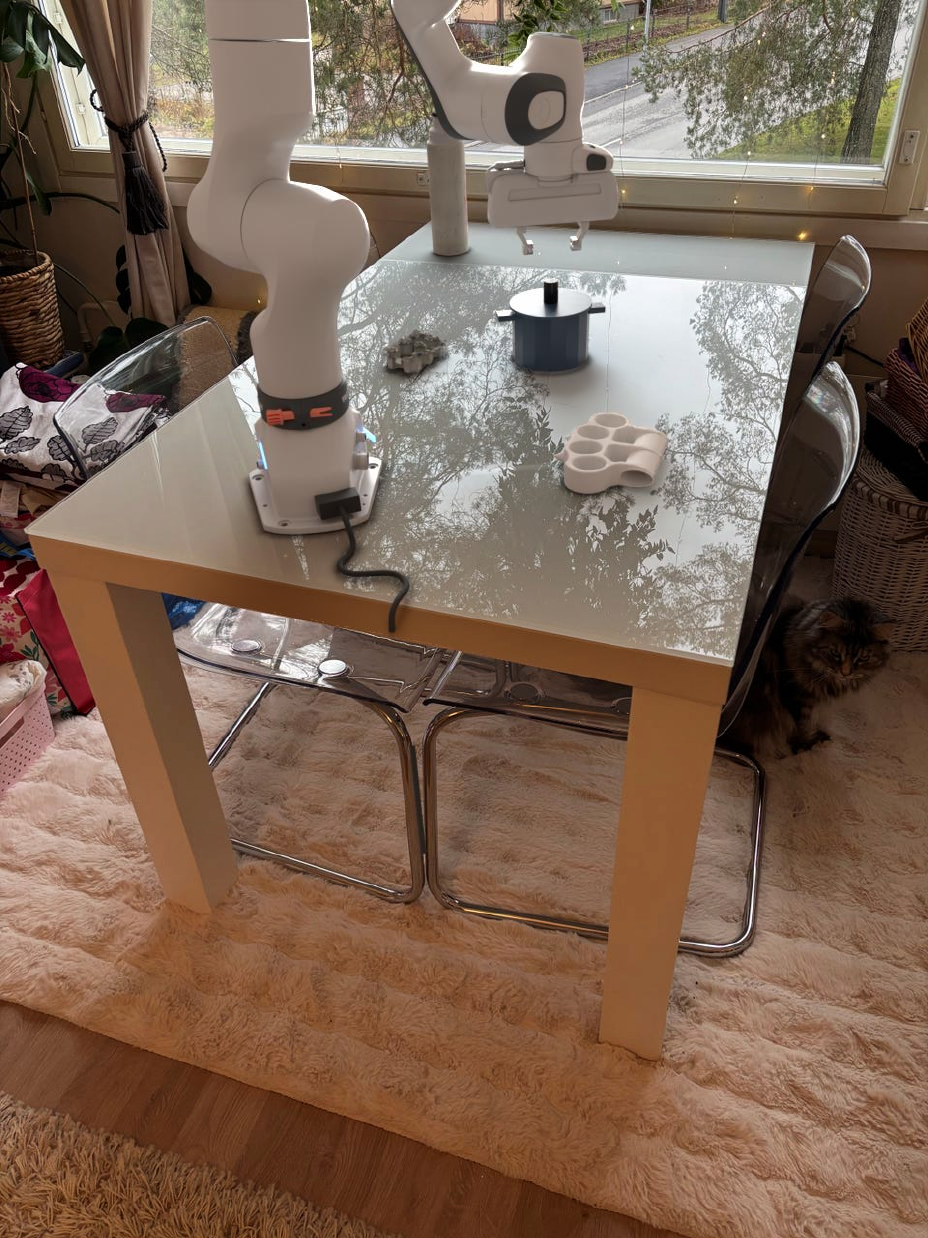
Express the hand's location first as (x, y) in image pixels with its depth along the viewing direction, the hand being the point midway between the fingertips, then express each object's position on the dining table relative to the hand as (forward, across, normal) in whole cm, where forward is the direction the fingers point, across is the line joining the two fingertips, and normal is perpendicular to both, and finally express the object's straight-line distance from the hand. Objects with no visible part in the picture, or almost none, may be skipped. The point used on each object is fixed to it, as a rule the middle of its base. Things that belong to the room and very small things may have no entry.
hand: (551, 251), depth 148 cm
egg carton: (+18, -23, +4) cm, 30 cm away
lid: (+8, 0, 0) cm, 8 cm away
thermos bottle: (+18, -10, +64) cm, 67 cm away
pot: (+18, 0, 0) cm, 18 cm away
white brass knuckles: (+18, +1, -37) cm, 41 cm away
